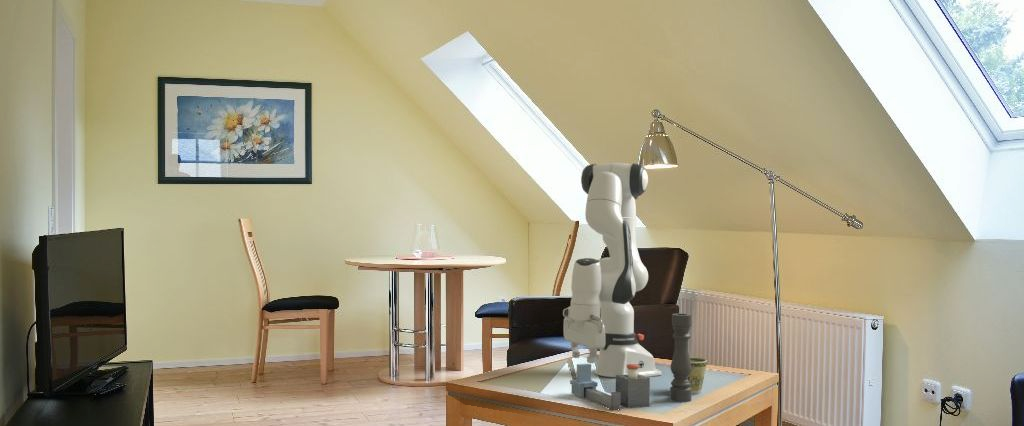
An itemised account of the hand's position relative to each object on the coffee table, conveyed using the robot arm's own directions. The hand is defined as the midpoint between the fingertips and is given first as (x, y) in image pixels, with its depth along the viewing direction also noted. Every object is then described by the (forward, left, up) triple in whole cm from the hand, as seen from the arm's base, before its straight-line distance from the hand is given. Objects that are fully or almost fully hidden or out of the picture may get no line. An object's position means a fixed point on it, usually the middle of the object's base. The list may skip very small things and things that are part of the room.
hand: (583, 360), depth 263 cm
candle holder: (-26, +13, -11) cm, 31 cm away
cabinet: (-9, +14, -11) cm, 20 cm away
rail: (-1, +7, -11) cm, 13 cm away
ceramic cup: (-35, +4, -11) cm, 37 cm away
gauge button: (-9, +14, -5) cm, 17 cm away
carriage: (0, 0, -11) cm, 11 cm away
